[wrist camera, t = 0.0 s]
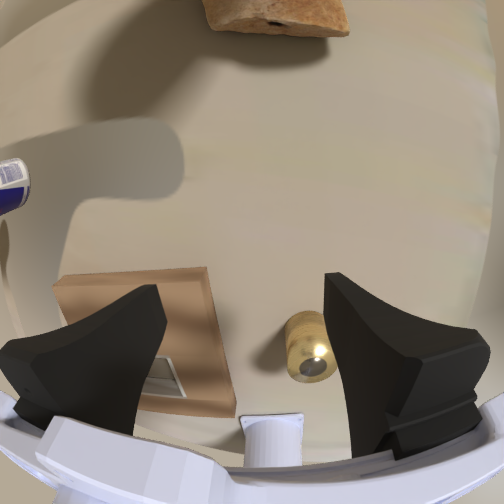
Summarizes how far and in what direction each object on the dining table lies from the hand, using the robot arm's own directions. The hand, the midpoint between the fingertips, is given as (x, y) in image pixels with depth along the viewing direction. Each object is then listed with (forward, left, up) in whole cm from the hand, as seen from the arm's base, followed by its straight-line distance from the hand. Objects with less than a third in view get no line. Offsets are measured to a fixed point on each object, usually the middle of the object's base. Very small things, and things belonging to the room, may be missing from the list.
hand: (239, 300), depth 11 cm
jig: (-12, +12, -10) cm, 20 cm away
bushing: (-10, -4, -10) cm, 15 cm away
